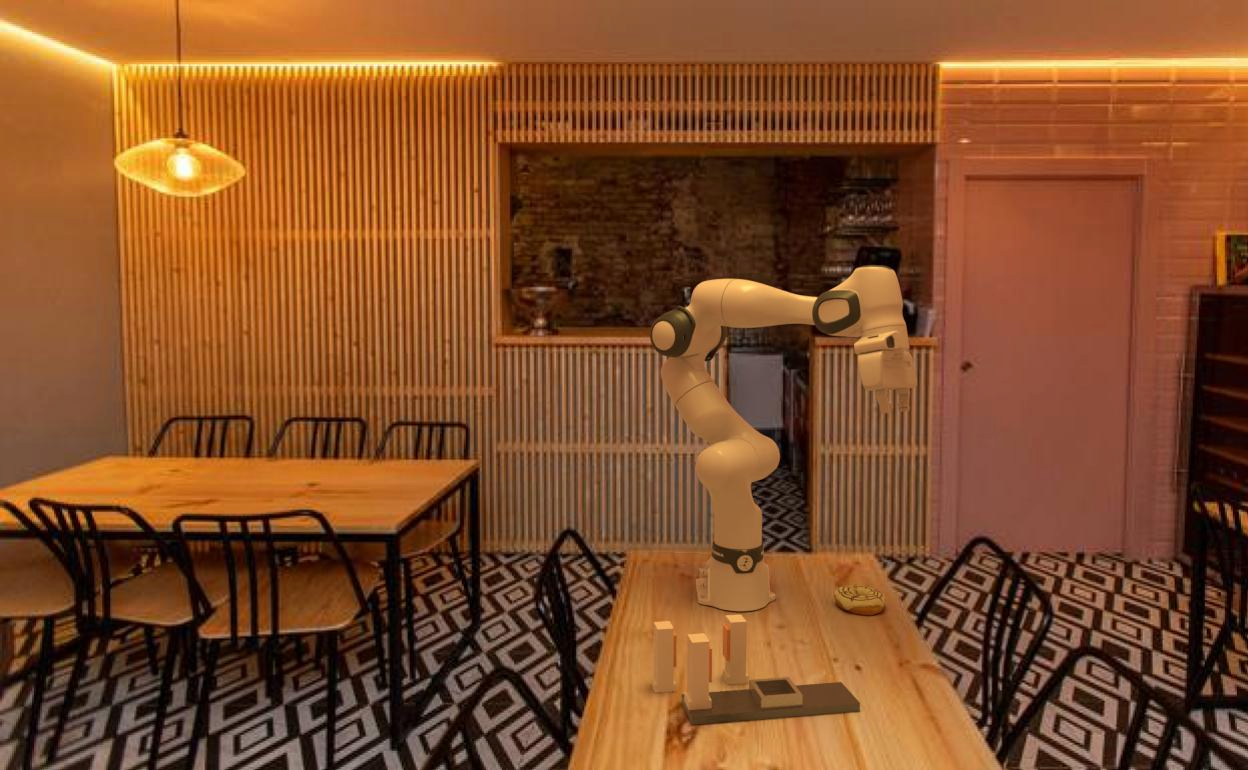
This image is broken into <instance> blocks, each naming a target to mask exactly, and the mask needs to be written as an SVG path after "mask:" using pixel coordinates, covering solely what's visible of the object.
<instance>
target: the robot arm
mask: <svg viewBox="0 0 1248 770" xmlns="http://www.w3.org/2000/svg"><path fill="white" fill-rule="evenodd" d="M903 309H904V302H903V297H902V291H901V286H900V282H899V279H898V276H897V274H896V271H895V270H894V269H893V268H891V267H889V266H886V265H883V264H881V265H877V264H868V265H861V266H859V267H856V268H855V269H854V271H853V272H852V274H850V276H849V277H848V278H846V279H845V280H844V281H842V282H840V284H838V285H837V286H835V287H833V288H831V289H829V290H828V291H825V292H822V293H821V294H820V295H819V296H810V295H809V296H808V295H800V294H795V293H792V292H789V291H786V290H782V289H779V288H776V287H773V286H770V285H767V284H765V283H761V282H757V281H753V280H749V279H743V278H741V279H740V278H717V279H715V278H714V279H710V280H709V279H708V280H705V281H701V282H700V283H699V284H697V285H696V286H695V287H694V289H693V291H692V294H691V298H690V303H689V305H688V306H685V307H684V306H681V305H678V306H676V307H674V308H673V309H671V310H669V311H667V312H665V313H663V314H662V315H660V316H658V317H657V318H656V319H655V320H654V321H653V322H652V324H651V327H650V331H649V339H650V344H651V346H652V348H653V349H654V350H655V351H656V352H657V353H658V354H659V355H662V356H665V357H668V358H667V359H666V360H665V362H664V363H663V364H662V366H661V368H660V376H661V380H662V382H663V385H664V388H665V390H666V391H667V392H666V393H667V394H668V396H669V397H670V400H671V402H672V403H673V405H674V406H675V408H676V410H677V411H678V412H679V414H680V415H681V417H682V419H683V421H684V422H685V424H686V426H687V427H688V428H689V430H690V432H691V433H692V434H694V435H695V436H696V437H698V438H700V439H703V440H704V441H705V442H707V443H708V444H709V446H708V447H706V448H705V449H703V450H702V451H701V452H700V453H699V454H698V455H697V457H696V459H695V460H696V461H695V473H696V476H697V478H698V481H699V482H700V483H701V484H702V486H704V487H705V488H706V489H707V491H708V494H709V497H710V499H711V502H712V507H713V518H714V519H713V521H714V523H713V525H714V529H713V531H714V534H713V535H714V536H713V537H714V538H713V539H714V540H713V541H712V545H711V551H710V553H711V556H710V557H709V558H708V559H707V560H706V562H704V567H700V568H698V577H699V578H696V579H695V591H696V598H697V603H698V604H701V605H702V606H703V605H704V606H705V605H706V606H711V607H713V608H717V609H720V610H725V611H732V612H750V611H756V610H760V609H762V608H765V607H766V606H767V605H768V604H770V602H774V601H775V600H776V599H777V597H776V594H775V593H774V592H773V591H771V585H770V583H771V581H770V567H769V565H768V564H767V563H766V562H765V561H764V552H765V548H764V543H763V542H762V541H763V540H762V539H763V537H762V535H763V512H762V509H761V508H760V507H759V505H758V504H756V503H755V500H754V497H753V493H752V483H755V482H757V481H760V480H763V479H765V478H767V477H768V476H770V475H771V473H773V472H774V471H775V470H776V469H777V468H778V466H779V463H780V460H781V454H780V449H779V447H778V445H777V443H776V442H775V441H774V440H773V439H772V438H770V437H768V436H766V435H764V434H763V433H760V432H759V431H758V430H757V429H755V428H754V427H753V426H752V425H750V424H749V423H748V422H747V421H746V420H745V419H744V418H743V417H742V416H741V415H740V414H739V413H737V411H736V410H735V409H734V408H733V406H732V405H731V404H730V403H729V402H728V400H727V398H726V397H725V395H724V394H723V393H722V391H721V390H720V388H719V387H718V386H717V384H716V383H715V381H714V379H713V378H712V377H711V375H710V374H709V372H708V371H707V369H706V365H705V363H706V362H709V361H712V360H713V359H714V358H715V356H716V354H717V353H718V351H719V350H720V349H721V347H722V346H723V345H724V344H725V342H726V339H727V335H728V327H729V328H736V329H740V328H741V329H752V328H762V327H763V328H764V327H772V326H778V325H779V326H780V325H791V324H795V325H796V324H799V325H800V324H801V325H802V324H803V325H811V326H815V327H816V329H817V330H818V331H819V332H821V333H823V334H826V335H829V336H835V337H848V338H855V339H859V340H857V341H856V342H854V344H853V349H854V354H856V355H858V357H857V361H858V362H857V363H858V370H859V375H860V379H861V384H862V386H863V389H864V390H865V391H870V392H872V391H874V397H875V399H876V400H877V403H878V405H879V411H880V413H881V414H890V413H892V411H893V410H892V409H893V408H892V403H891V402H890V400H889V396H888V395H889V392H888V391H892V390H896V394H897V396H898V403H897V407H898V412H902V413H903V412H909V411H910V409H911V407H910V396H911V390H910V389H914V388H917V386H918V378H917V373H916V368H915V367H916V366H915V363H914V358H913V355H912V354H911V353H910V352H909V351H907V350H909V349H910V343H909V342H910V341H909V335H908V329H907V324H906V321H905V319H904V315H903Z"/></svg>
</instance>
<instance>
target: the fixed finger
mask: <svg viewBox="0 0 1248 770" xmlns="http://www.w3.org/2000/svg"><path fill="white" fill-rule="evenodd" d="M686 638H687V639H686V640H687V641H686V643H687V645H686V647H687V648H686V649H687V651H686V653H687V655H686V658H687V659H686V663H687V664H686V665H687V667H686V691H684V692H683V694H684V701H685V703H686V705H687V707H688V710H698V709H710V708H712V700H711V698H710V696H709V692H710V683H713V648H712V647H711V645H710V640H709V639H708V637H707V635H706V634H705V632H704V633H701V632H700V633H690V634H689V633H688V634H687V637H686Z"/></svg>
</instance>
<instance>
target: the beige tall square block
mask: <svg viewBox="0 0 1248 770" xmlns="http://www.w3.org/2000/svg"><path fill="white" fill-rule="evenodd" d="M747 622H748V621H747V619H745V617H743V615H742V614H727V615H725V623H723V624H722V656H723V657H724V668H722V675H721V676H722V679H723V680H724V682H725V683H726V685H728V686H729V685H731V686H732V685H741V684H742V685H743V684H749V675H748V672H747Z"/></svg>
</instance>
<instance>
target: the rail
mask: <svg viewBox="0 0 1248 770" xmlns="http://www.w3.org/2000/svg"><path fill="white" fill-rule="evenodd" d="M680 696H681V697H680V698H681V699H680V703H681V705H682V708H683V710H684V712H685V713H686V716H687V718H688V720H689V722H690V725H691V726H699V725H710V724H712V725H713V724H722V723H735V722H747V721H757V720H758V721H759V720H769V719H770V720H772V719H780V718H781V719H783V718H784V719H785V718H795V717H804V716H805V717H806V716H817V715H818V716H820V715H830V714H841V713H843V714H844V713H854V712H856V713H857V712H860V711H861V702H860V701H859V700H858V699H857V698H856V696H855V695H854V694H853V693H852V692H851V691H850V690H849V689H848V688H847V687H846V685H844V683H843V682H842V681H837V682H822V683H813V684H812V683H811V684H797V685H795V683H794V682H793V681H792V679H791V678H790V677H789V676H786V677H785V676H783V677H771V678H770V677H769V678H759V679H748V688H747V689H746V688H745V689H733V690H720V691H719V690H718V691H709V696H710V698H711V700H712V708H710V709H698V710H688V707H687V705H686V703H685V701H684V693H682V694H681V695H680Z"/></svg>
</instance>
